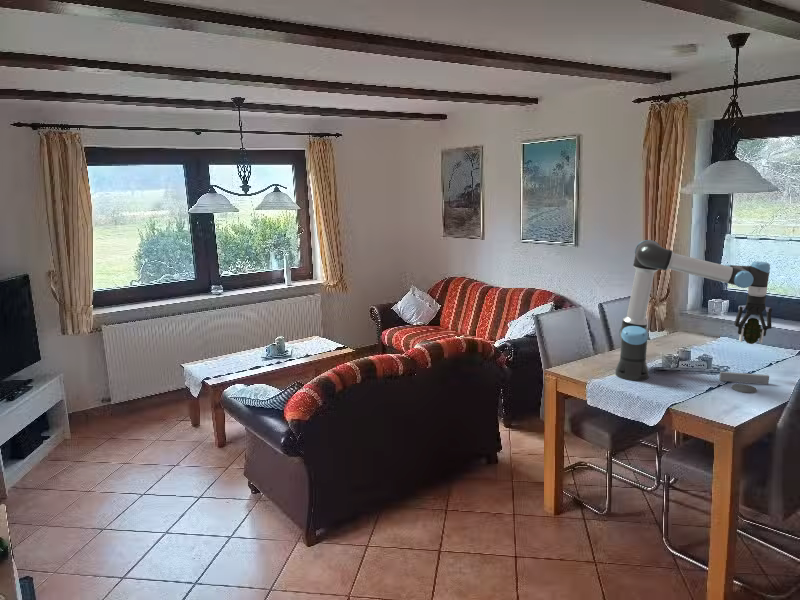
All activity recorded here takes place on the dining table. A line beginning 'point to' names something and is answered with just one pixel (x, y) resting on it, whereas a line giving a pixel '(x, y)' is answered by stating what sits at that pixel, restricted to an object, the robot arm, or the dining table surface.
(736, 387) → the pad
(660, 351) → the dining table surface
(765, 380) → the low wall
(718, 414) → the dining table surface
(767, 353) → the dining table surface
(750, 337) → the grenade
